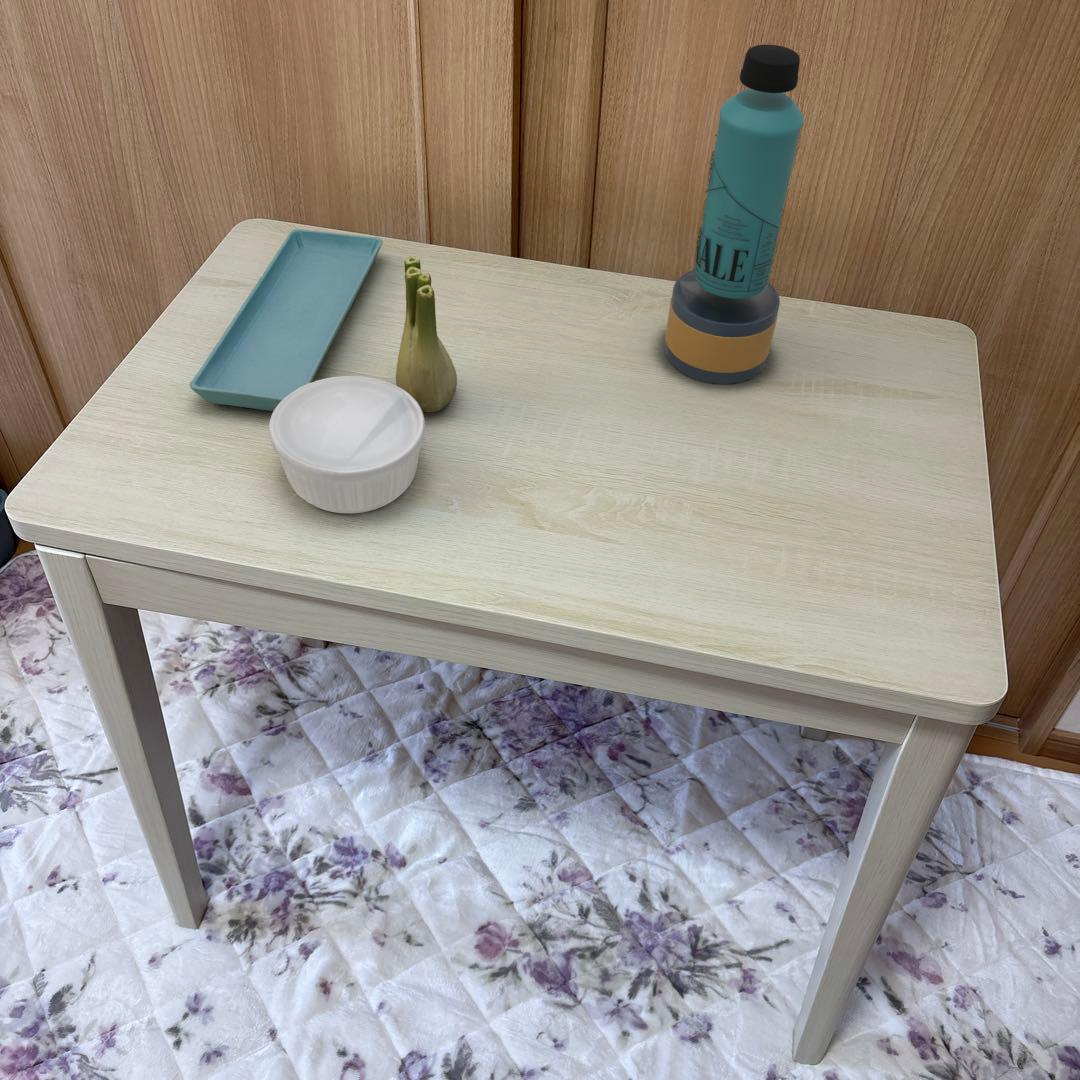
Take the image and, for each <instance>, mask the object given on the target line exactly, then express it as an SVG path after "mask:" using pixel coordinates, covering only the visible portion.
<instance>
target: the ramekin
mask: <svg viewBox="0 0 1080 1080" xmlns="http://www.w3.org/2000/svg"><path fill="white" fill-rule="evenodd" d="M268 429H269V430H268V431H269V432H268V433H269V438H270V439H269V440H270V442H271V446H272V448H273V451H274V452H275V454H276V456H277V457H278V458H279V460H280V463H281V466H282V468H283V471H284V474H285V476H286V478H287V481H288V483H289V484H290V486H291V488H292V489H293V491H294V492H295V494H297V495H298V496H299V497H300V499H302V500H304V501H305V502H306V503H308V504H310V505H312V506H314V507H316V508H318V509H321V510H323V511H326V512H331V513H336V514H361V513H367V512H372V511H374V510H377V509H381V508H382V507H385V506H387V505H389V504H391V503H392V502H394V501H395V500H397V498H399V497H400V496H402V494H403V493H404V492H406V491H407V489H408V488H409V487H410V486H411V484H412V482H413V480H414V478H415V475H416V473H417V468H418V462H419V457H420V451H421V448H422V445H423V443H424V440H425V434H426V420H425V415H424V411H423V412H422V410H421V408H420V406H419V404H418V403H417V401H416V400H415V399H414V398H413V397H412V396H411V395H410V394H409V393H407V392H406V391H405V390H403V389H401V388H400V387H398V386H397V385H396V384H394V383H392V382H389V381H386V380H383V379H379V378H375V377H371V376H363V375H341V376H340V375H339V376H331V377H326V378H322V379H319V380H315V381H314V380H313V381H312V383H309V384H306V385H304V386H301V387H300V388H298V389H296V390H295V391H293V392H292V393H290V394H289V395H288V396H286V397H285V398H284V399H283V400H282V401H281V402H280V403H279V404H278V405H277V407H276V408H275V410H274V411H272V414H271V416H270V420H269V424H268Z"/></svg>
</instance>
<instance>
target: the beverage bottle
mask: <svg viewBox="0 0 1080 1080" xmlns="http://www.w3.org/2000/svg"><path fill="white" fill-rule="evenodd" d="M800 64H801V58H800V55H799V53H797V52H796V51H795V50H793V49H791V48H788V47H786V46H784V45H783V46H782V45H778V44H757V45H754V46H751V47H749V48H748V49H747V50H746V53H745V55H744V59H743V63H742V68H741V69H740V74H739V81H740V83H741V84H742V85H743V86H744V87H746V88H747V89H744V90H741V91H738V92H737V93H736V94H735V95H733V96H731V97H730V98H729V99H727V100H726V101H725V102H724V103H723V104H722V105H721V107H720V109H719V114H718V115H719V121H718V127H717V133H715V134H714V135H715V138H716V139H715V141H714V142H715V143H714V148H713V149H712V151H711V155H710V161H709V169H708V173H707V182H708V183H706V184H707V189H706V190H705V193H704V194H706V197H705V200H704V202H703V206H704V207H703V208H702V211H701V221H702V222H701V227H699V229H698V234H697V241H696V247H695V250H696V252H695V253H694V256H695V259H694V262H695V264H694V267H693V269H692V270H695V272H694V273H695V277H696V280H697V282H698V284H699V285H700V286H701V287H702V288H704V289H705V290H706V291H708V292H710V293H712V294H715V295H718V296H721V297H726V298H735V299H740V298H748V297H752V296H755V295H757V294H759V293H760V292H762V291H763V290H764V288H765V286H766V285H767V283H768V282H769V280H770V275H771V273H773V272H772V269H773V263H774V260H775V258H776V257H775V255H776V253H777V252H776V250H777V248H778V244H779V243H778V241H779V239H780V238H779V236H780V234H781V233H780V232H781V231H782V230H781V227H782V225H783V224H782V222H784V219H783V217H784V214H785V213H784V207H785V202H786V198H787V193H788V189H789V184H790V179H791V175H792V172H793V167H794V162H795V158H796V153H797V149H798V145H799V141H800V140H799V139H800V136H801V132H802V129H803V126H804V122H805V119H804V114H803V112H802V111H801V109H800V107H798V105H797V104H796V102H795V101H794V100H793V99H792V98H791V97H790V96H789V95H787V94H786V93H788V92H791V91H793V90H795V89H796V88H797V87H798V83H799V73H800Z"/></svg>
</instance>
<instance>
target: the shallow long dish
mask: <svg viewBox="0 0 1080 1080" xmlns="http://www.w3.org/2000/svg"><path fill="white" fill-rule="evenodd" d="M383 243H384V241H383V239H382V238H380V237H375V236H374V237H373V236H365V235H355V234H346V233H337V232H329V231H319V230H310V229H309V230H308V229H302V228H295V229H292V230H291V231H290V232H289V233H288V235H287V236H286V238H285V240H284V242H282V244H281V246H280V248H278V250H277V251H276V254H275V255H274V257H273V258H272V260H271V262H270V263H269V265H268V266H267V267H266V269H265V270H264V272H263V274H262V275H261V277H260V278H259V280H258V281H257V283H256V284H255V286H254V287H253V289H252V290H251V291H250V293H249V295H248V296H247V298H246V299H245V301H244V302H243V303H242V305H241V307H240V308H239V310H238V311H237V313H236V314H235V316H234V317H233V319H232V320H231V322H230V324H229V325H228V327H226V329H225V331H224V333H222V335H221V337H220V338H219V341H218V342H216V344H215V346H214V348H213V349H212V351H211V352H210V354H209V355H208V357H207V358H206V359H205V361H204V363H203V364H202V365H201V367H200V368H199V370H198V371H197V373H196V374H195V376H194V377H193V379H192V380H191V381H190V382H189V387H190V389H191V390H192V391H193V392H194V393H196V394H197V395H198V396H199V397H201V398H202V399H204V400H205V401H206V402H207V403H210V404H215V405H216V404H217V405H225V406H233V407H239V408H246V409H256V410H262V411H270V412H271V411H272V412H274V410H275V408H276V407H277V405H278V404H279V403H280V402H281V401H282V400H283V399H284V398H285V397H286V396H288V395H289V394H290V393H292V392H293V391H295V390H296V389H298V388H300V387H301V386H304V385H306V384H309V383H312V382H314V379H315V377H316V375H317V373H318V372H319V370H320V367H321V365H322V364H323V362H324V360H325V358H326V356H327V354H328V352H329V351H330V349H331V346H332V344H333V342H334V341H335V338H336V336H337V335H338V333H339V331H340V329H341V327H342V325H343V323H344V321H345V319H346V318H347V315H348V313H349V311H350V309H351V308H352V305H353V303H354V302H355V300H356V298H357V295H358V294H359V292H360V290H361V288H362V286H363V284H364V282H365V280H366V278H367V277H368V274H369V272H370V271H371V269H372V267H373V265H374V263H375V261H376V259H377V257H378V254H379V252H380V250H381V248H382V245H383Z"/></svg>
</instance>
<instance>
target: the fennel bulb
mask: <svg viewBox="0 0 1080 1080" xmlns="http://www.w3.org/2000/svg"><path fill="white" fill-rule="evenodd" d="M403 265H404V284H405V321H404V327H403V332H402V335H401V340H400V346H399V350H398V355H397V362H396V372H395V385H396V386H398V387H400V388H401V389H403V390H405V391H406V392H407V393H409V394H410V395H411V396H412V397H413V398H414V399H415V400H416V401H417V403H418V404H419V406H420V408H421V410H422V412H423V413H424V412H425V413H435V412H438V411H440V410H441V409H442V408H443V407H444V406H445V407H446V405H448V404H449V403H450V401H452V399H453V398H454V396H455V393H456V392H457V385H458V375H457V370H456V368H455V366H454V363H453V361H452V358H451V356H450V354H449V353H448V350H447V349H446V347H445V345H444V344H443V341H442V340H441V339H440V337H439V336H438V330H437V316H436V297H435V290H434V288H433V287H432V277H431V275H430V273H428V272H425V273H422V269H421V268H422V267H421V259H420V258H419V257H417V256H414V255H409V256H407V257H405V260H404V261H403Z"/></svg>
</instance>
